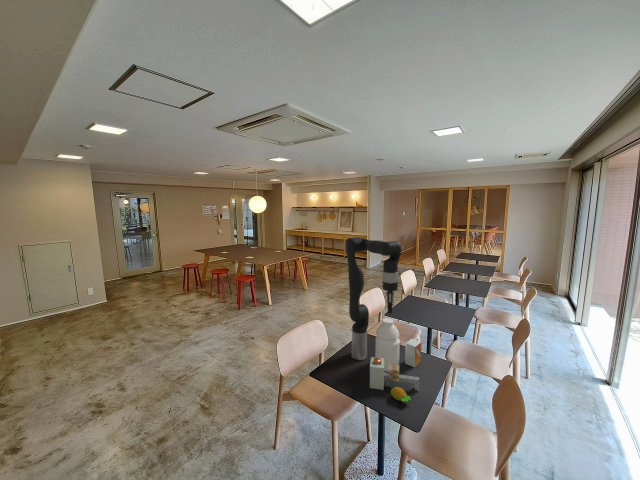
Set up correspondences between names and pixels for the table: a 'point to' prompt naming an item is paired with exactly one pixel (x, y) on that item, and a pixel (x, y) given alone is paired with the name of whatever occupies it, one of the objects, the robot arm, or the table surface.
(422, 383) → the table surface
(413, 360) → the small box
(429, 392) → the table surface
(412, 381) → the rail
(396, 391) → the toy pineapple
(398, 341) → the bottle
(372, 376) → the cabinet
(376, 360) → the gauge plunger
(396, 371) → the block
